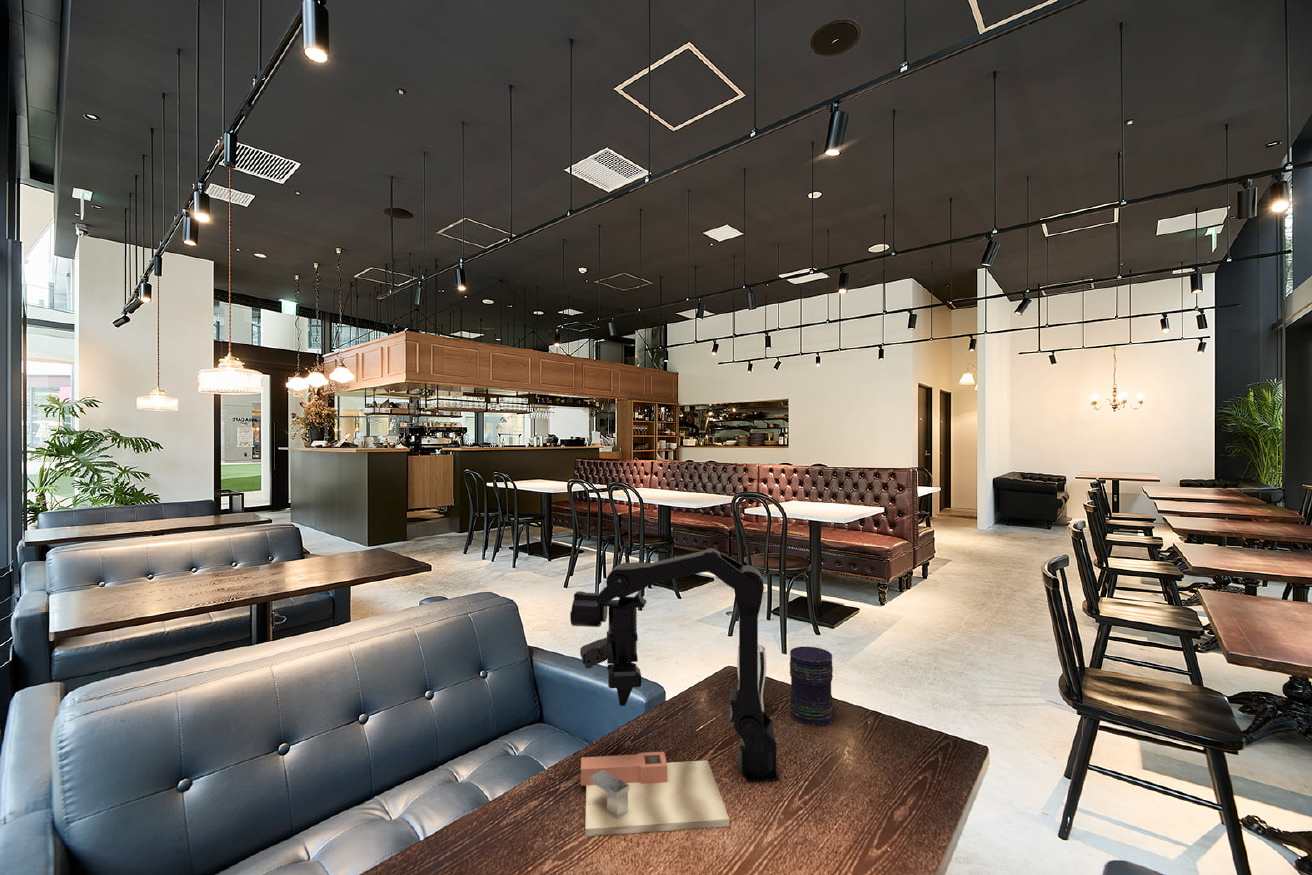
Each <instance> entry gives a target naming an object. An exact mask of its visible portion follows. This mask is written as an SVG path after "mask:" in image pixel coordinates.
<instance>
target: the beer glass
mask: <svg viewBox="0 0 1312 875" xmlns="http://www.w3.org/2000/svg"><path fill="white" fill-rule="evenodd" d="M766 654H767V653H766V647H765V646H763V645H761V644H759V643H758V689H759V695H760V700H761V706H762V711H763V712H764V713H765V707H764V706H765V705H764V698H763V697H764V694H763V693H764V686H765V682H766V675H767V656H766ZM736 660H737V662H736V666H737V667H736V670H737V677H738V679H739V645H738V646H737V659H736Z"/></svg>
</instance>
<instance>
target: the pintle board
mask: <svg viewBox="0 0 1312 875" xmlns="http://www.w3.org/2000/svg"><path fill="white" fill-rule="evenodd" d="M648 764H657V757H655V756H650V757H649V762H648ZM626 784H628V785H629V791H628V812H627V813H625V814H624V815H622V816H621V817H619V818H615V817H614V816H612V815H611V814H609V813H608V812H607V792H606V791H605V790H603V789H602V788H600V787H599V786H597V785H585V788H586V790H585V826H584V827H585V829H584V830H585V831H584V832H585V834H584V836H585V837H596V836H597V837H598V836H610V835H612V836H613V835H624V834H626V835H627V834H637V833H641V834H642V833H654V832H656V833H657V832H668V831H683V830H695V829H696V830H697V829H712V828H723V827H725V828H726V827H730V816H729V815H728V812H727V809H726V806H725V804H724V801H723V798H722V796H721V792H720V790H719V787H718V784H717V781H716V779H715V776H714V773H713V771H712V768H711V766H710V762H709V760H708V759H707V760H694V761H693V760H690V761H675V762H667V782H662V783H645V784H640V782H635V783H626Z"/></svg>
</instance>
